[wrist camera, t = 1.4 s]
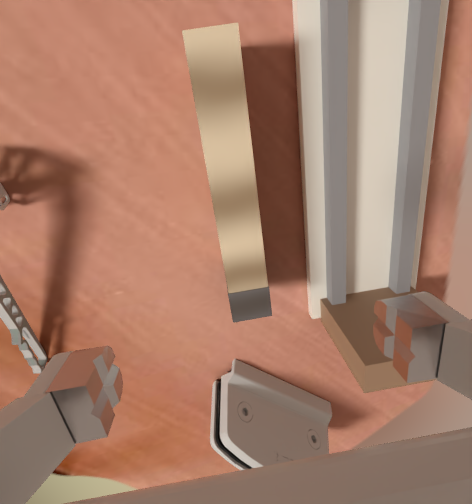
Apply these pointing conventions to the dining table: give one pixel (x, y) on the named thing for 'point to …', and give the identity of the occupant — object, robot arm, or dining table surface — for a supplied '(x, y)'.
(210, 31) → the wooden block
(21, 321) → the bracket
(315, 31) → the slot board
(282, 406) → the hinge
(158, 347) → the dining table surface
